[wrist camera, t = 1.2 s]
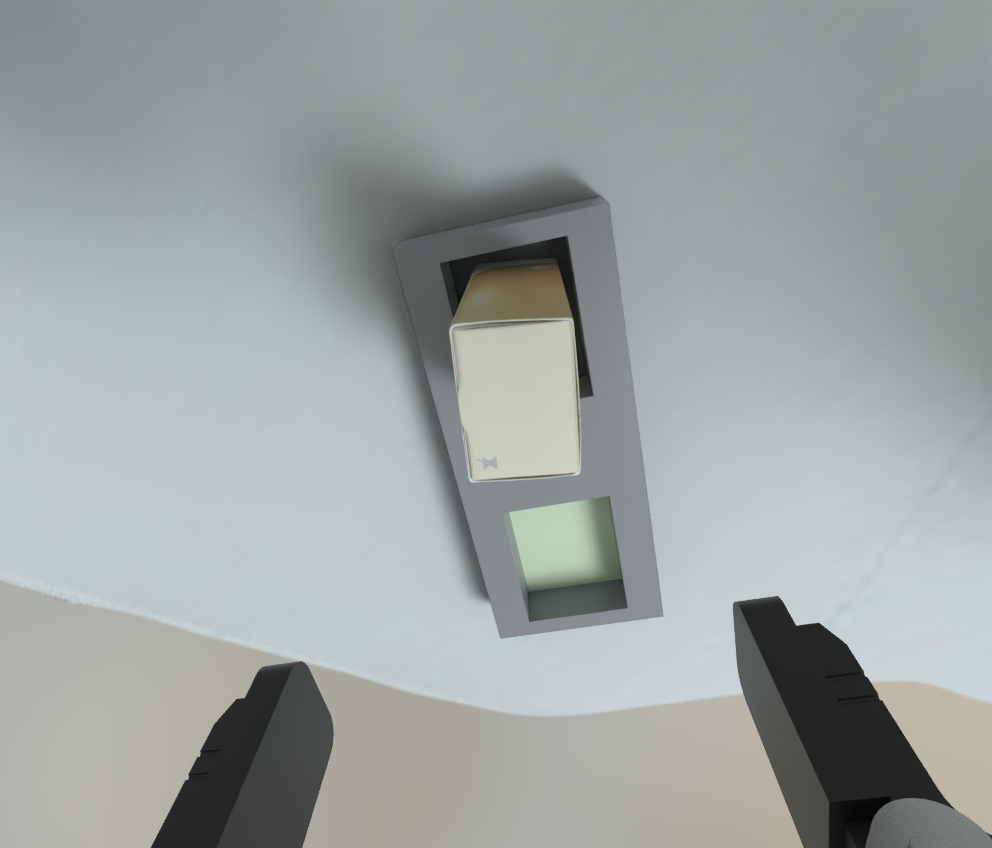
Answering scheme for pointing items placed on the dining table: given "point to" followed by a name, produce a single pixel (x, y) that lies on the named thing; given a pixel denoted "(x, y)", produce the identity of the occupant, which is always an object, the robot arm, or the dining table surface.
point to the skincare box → (517, 373)
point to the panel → (604, 439)
